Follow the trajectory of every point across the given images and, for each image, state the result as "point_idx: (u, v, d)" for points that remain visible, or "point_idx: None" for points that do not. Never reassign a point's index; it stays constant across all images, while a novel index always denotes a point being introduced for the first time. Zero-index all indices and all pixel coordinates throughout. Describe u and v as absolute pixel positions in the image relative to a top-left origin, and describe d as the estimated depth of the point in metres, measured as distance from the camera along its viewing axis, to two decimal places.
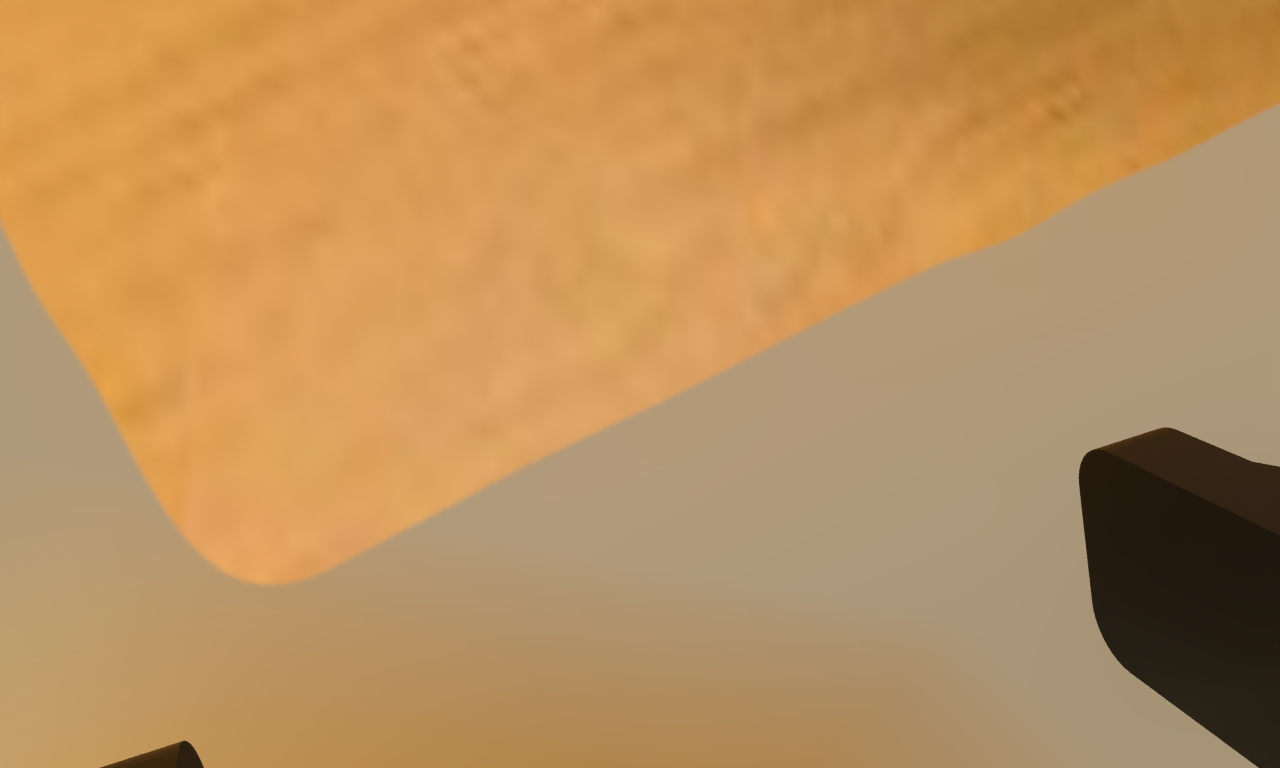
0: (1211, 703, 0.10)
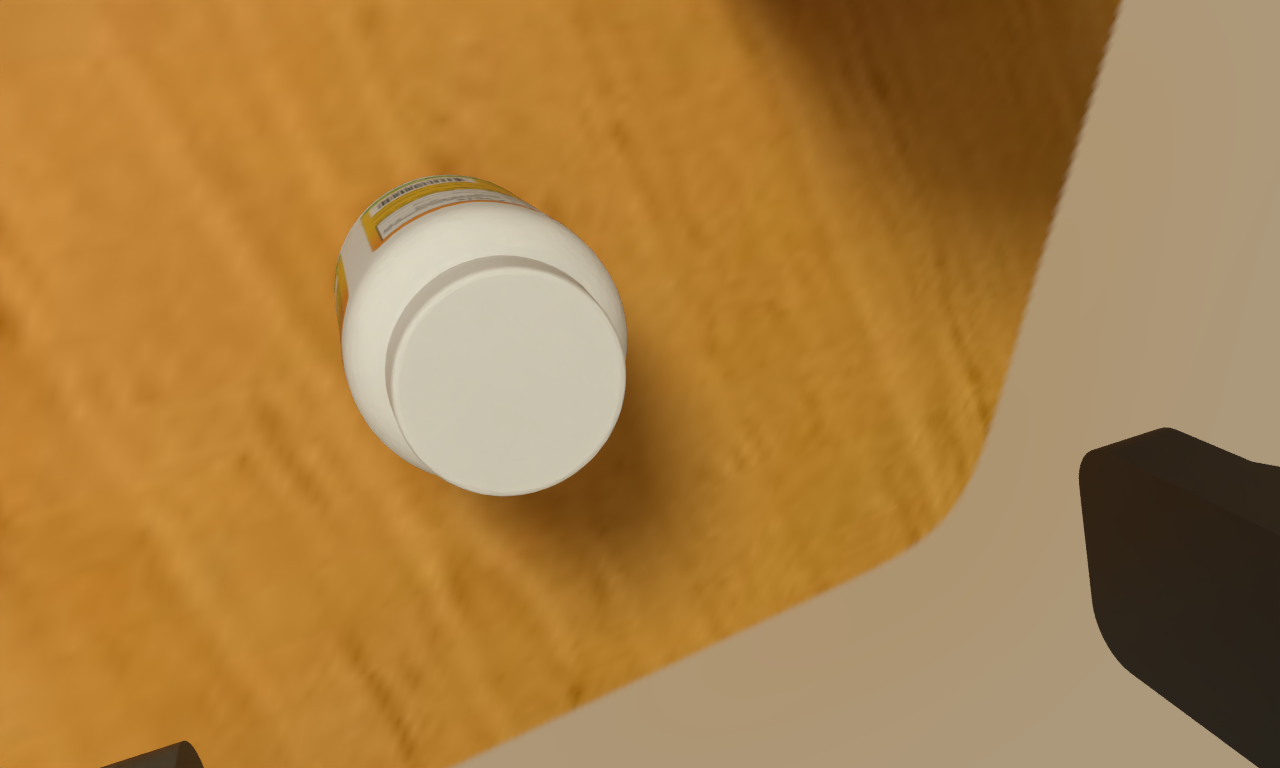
0: (1211, 703, 0.10)
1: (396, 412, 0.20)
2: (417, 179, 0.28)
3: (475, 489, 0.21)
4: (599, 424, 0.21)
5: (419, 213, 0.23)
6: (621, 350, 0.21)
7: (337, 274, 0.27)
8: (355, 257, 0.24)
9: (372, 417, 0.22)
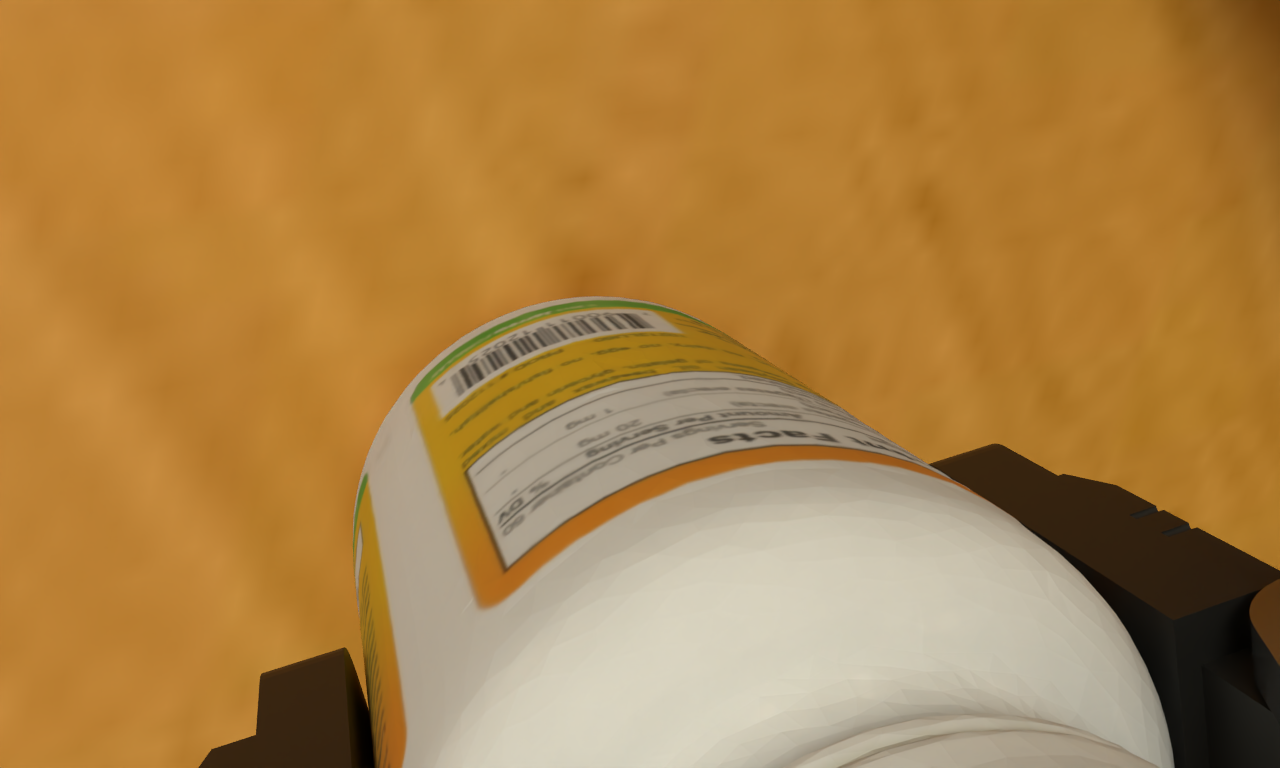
0: None
1: None
2: (531, 309, 0.13)
3: None
4: None
5: (610, 487, 0.08)
6: None
7: (361, 531, 0.12)
8: (414, 557, 0.10)
9: None
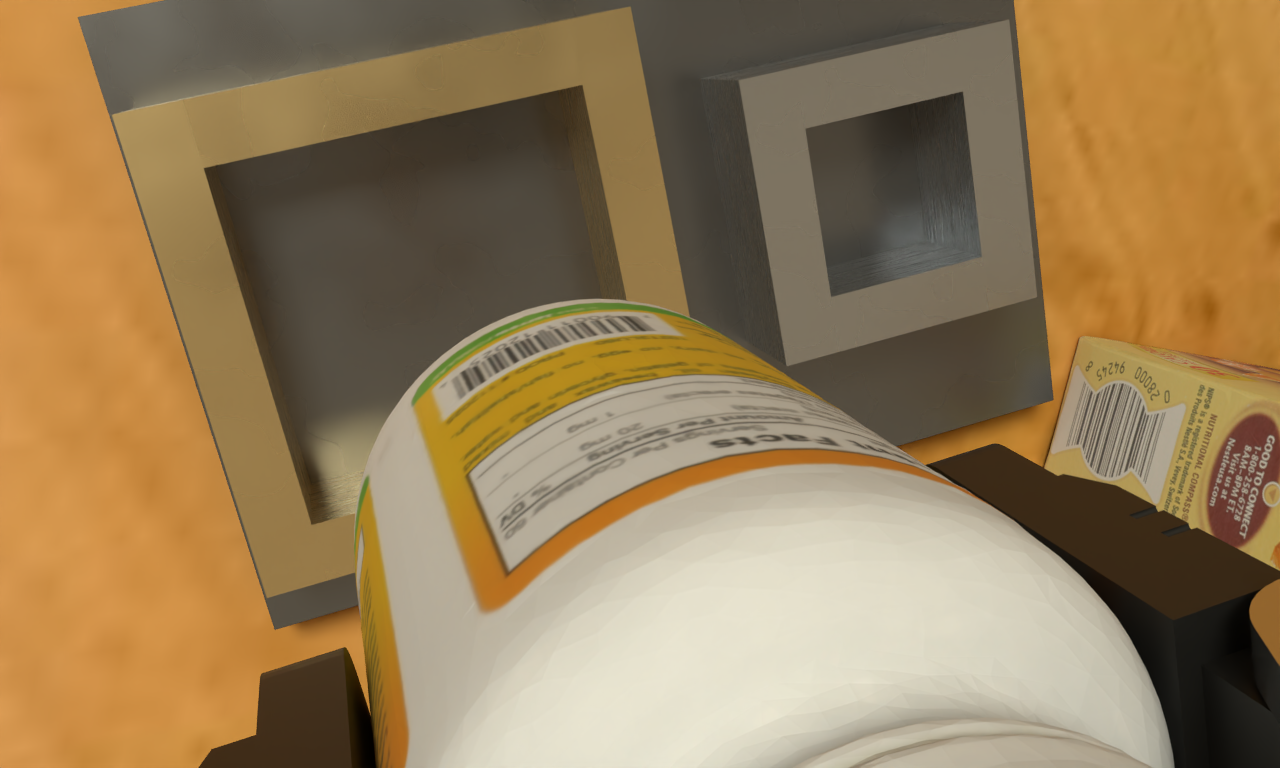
0: None
1: None
2: (533, 311, 0.13)
3: None
4: None
5: (612, 491, 0.08)
6: None
7: (362, 533, 0.12)
8: (416, 560, 0.10)
9: None
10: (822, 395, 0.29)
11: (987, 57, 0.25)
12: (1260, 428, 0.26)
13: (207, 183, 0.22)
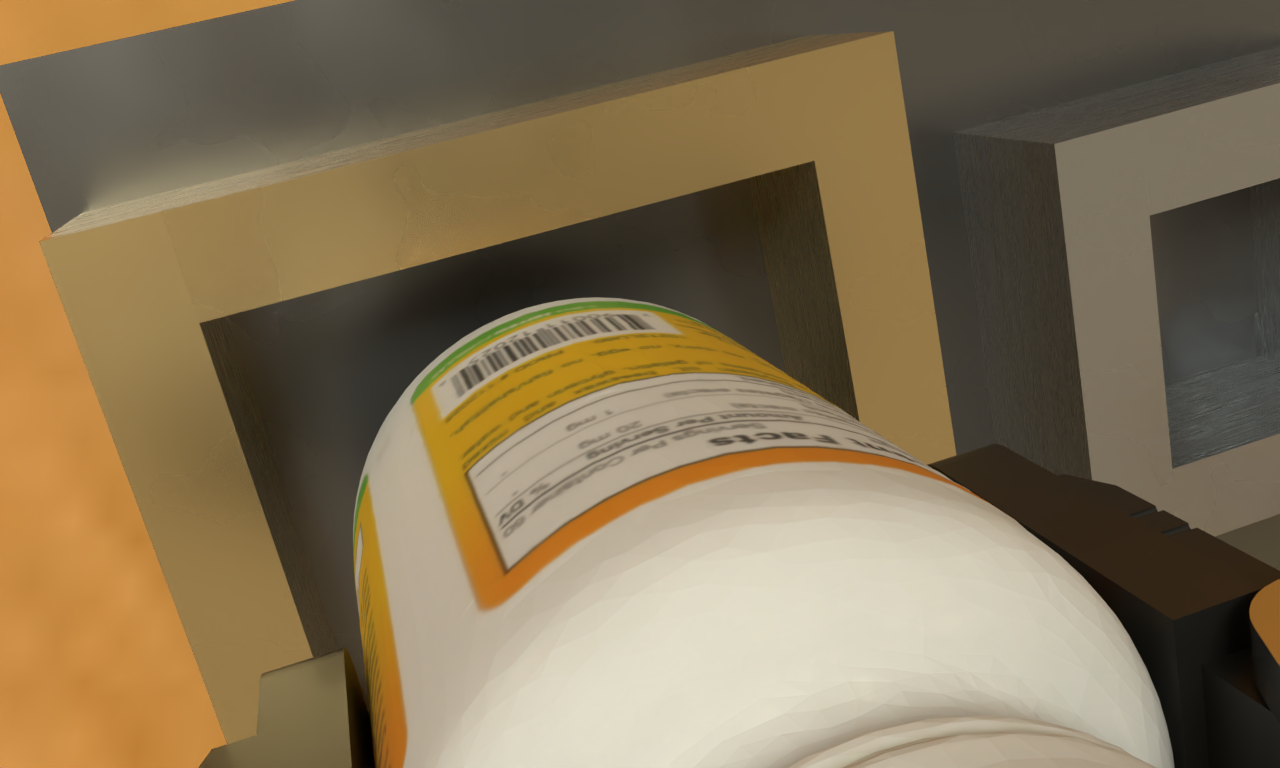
0: None
1: None
2: (532, 310, 0.13)
3: None
4: None
5: (610, 489, 0.08)
6: None
7: (361, 532, 0.12)
8: (414, 558, 0.10)
9: None
10: None
11: None
12: None
13: (206, 347, 0.13)
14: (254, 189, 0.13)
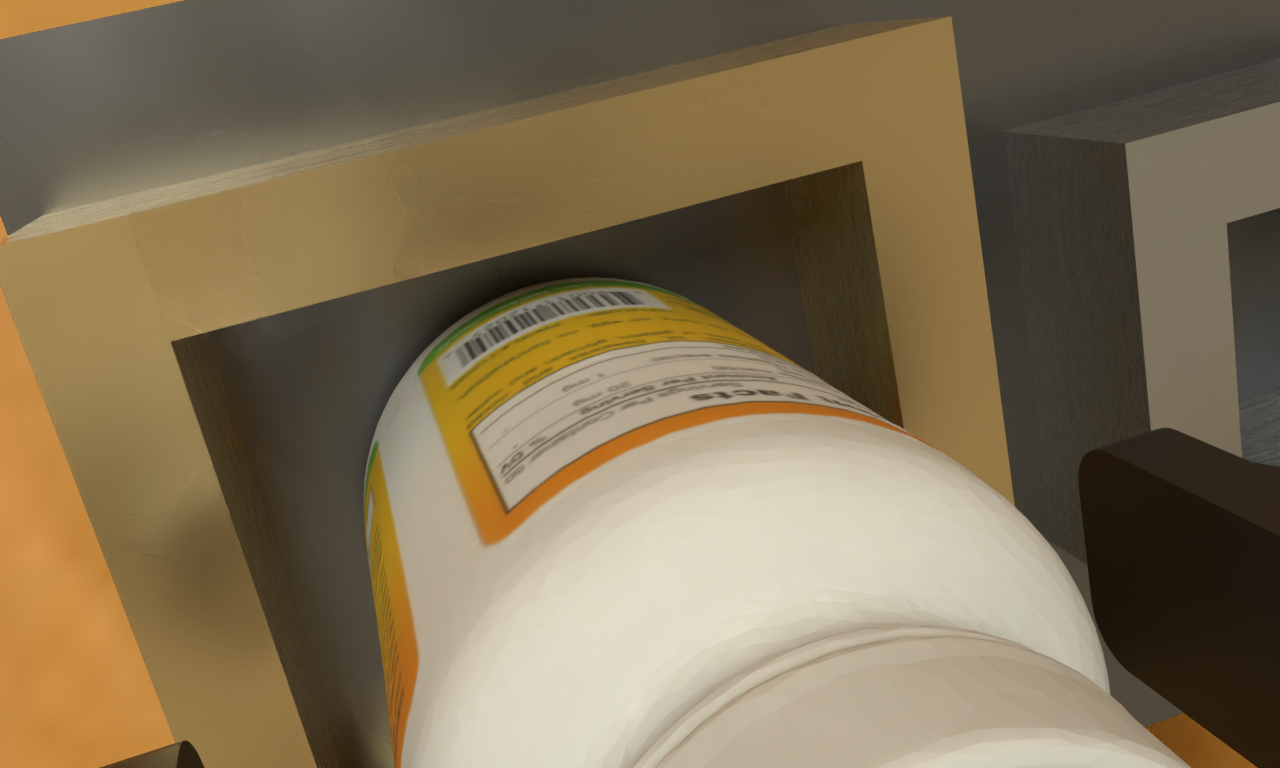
0: (1210, 703, 0.10)
1: None
2: (531, 288, 0.14)
3: None
4: None
5: (601, 439, 0.09)
6: None
7: (372, 494, 0.13)
8: (423, 509, 0.10)
9: None
10: None
11: None
12: None
13: (178, 368, 0.11)
14: (233, 190, 0.11)
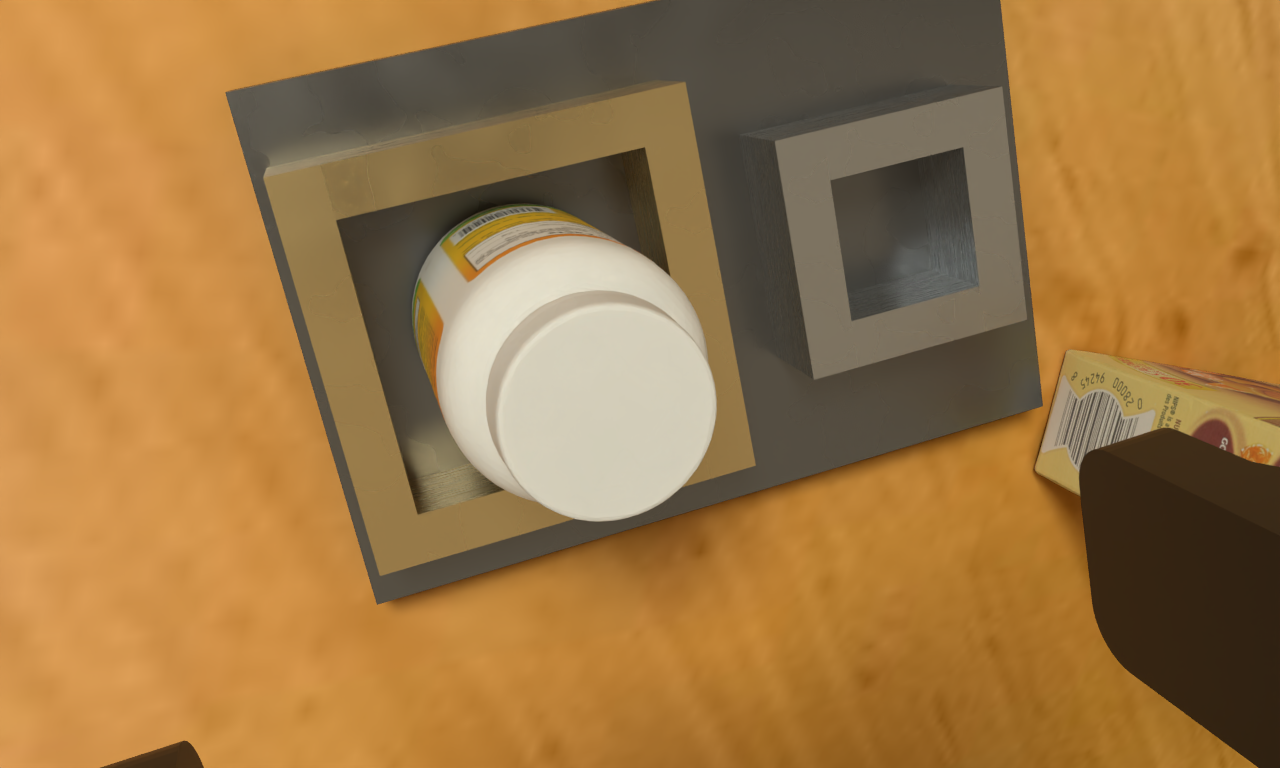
0: (1211, 703, 0.10)
1: (500, 440, 0.21)
2: (494, 207, 0.29)
3: (571, 514, 0.22)
4: (690, 454, 0.22)
5: (512, 245, 0.24)
6: (713, 384, 0.22)
7: (418, 299, 0.28)
8: (444, 285, 0.25)
9: (466, 442, 0.23)
10: (842, 402, 0.33)
11: (984, 118, 0.30)
12: (1216, 432, 0.30)
13: (338, 232, 0.26)
14: (364, 155, 0.26)
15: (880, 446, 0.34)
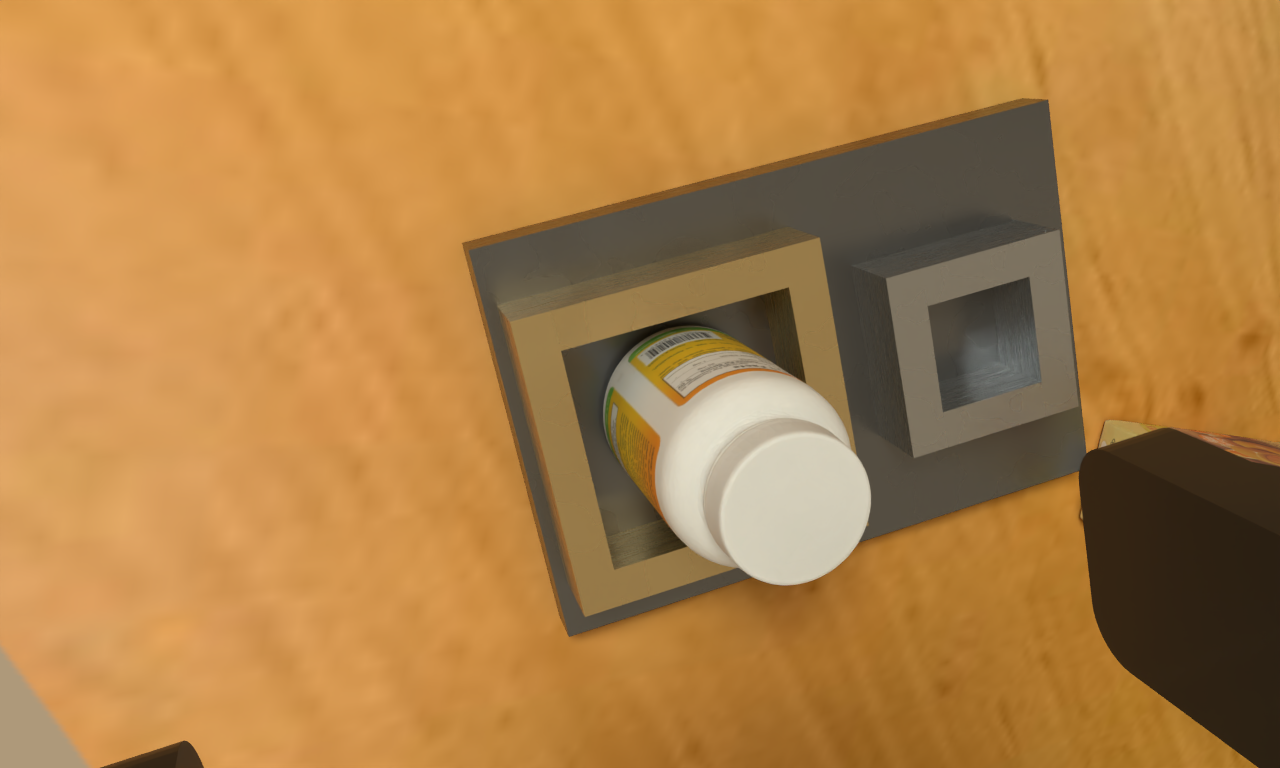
0: (1211, 703, 0.10)
1: (722, 530, 0.29)
2: (668, 330, 0.37)
3: (768, 580, 0.30)
4: (852, 535, 0.30)
5: (709, 378, 0.32)
6: (869, 485, 0.30)
7: (614, 404, 0.36)
8: (649, 402, 0.34)
9: (680, 525, 0.32)
10: (929, 469, 0.42)
11: (1045, 253, 0.38)
12: None
13: (562, 359, 0.35)
14: (583, 302, 0.35)
15: (959, 503, 0.42)
